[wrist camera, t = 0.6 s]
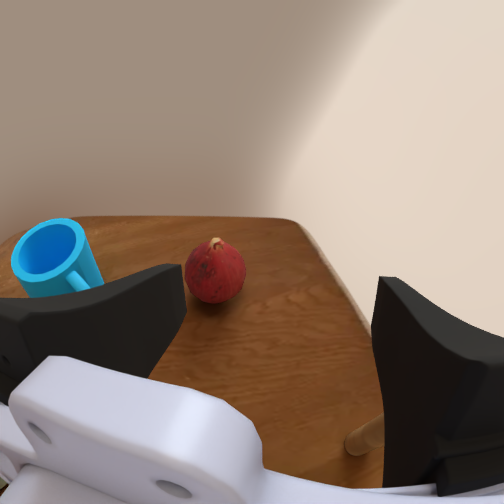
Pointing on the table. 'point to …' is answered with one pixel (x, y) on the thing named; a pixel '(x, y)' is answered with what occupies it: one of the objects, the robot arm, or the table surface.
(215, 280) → the onion
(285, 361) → the table surface
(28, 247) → the mug
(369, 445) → the stir stick
